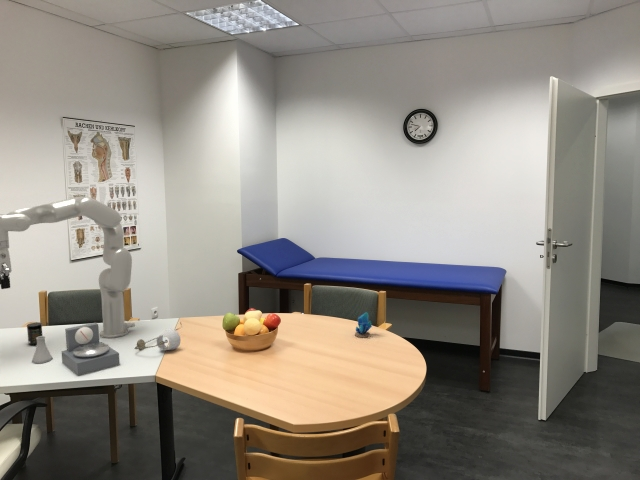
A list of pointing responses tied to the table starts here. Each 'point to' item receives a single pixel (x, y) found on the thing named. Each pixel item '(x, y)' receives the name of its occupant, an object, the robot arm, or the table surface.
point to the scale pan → (91, 350)
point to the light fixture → (170, 334)
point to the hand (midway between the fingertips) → (1, 286)
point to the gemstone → (363, 326)
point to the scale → (86, 364)
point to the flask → (41, 351)
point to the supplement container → (34, 332)
